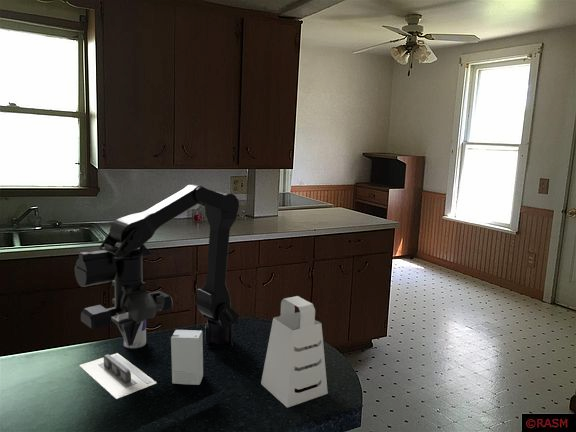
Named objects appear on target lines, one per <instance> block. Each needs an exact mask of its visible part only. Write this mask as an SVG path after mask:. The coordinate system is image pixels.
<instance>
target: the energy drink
mask: <svg viewBox="0 0 576 432" xmlns="http://www.w3.org/2000/svg"><path fill="white" fill-rule="evenodd" d="M146 344H147V319H146V320H144V321H142V323H141V324H140V326H139V329H138V331H137V334H136V337H135V339H134V342H133V345H132V346H128V345H127V344H126V342H125V340H124V339H123V346H124V347H125V348H127V349H138V348H142V347H144V346H145V345H146Z"/></svg>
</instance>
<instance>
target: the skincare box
mask: <svg viewBox="0 0 576 432" xmlns="http://www.w3.org/2000/svg"><path fill="white" fill-rule="evenodd" d="M203 334H204V333H203V330H194V329H193V330H192V329H191V330H190V329H175V330H174V332H173V334H172V335H171V337H170V346H171V349H170V352H171V353H170V355H171V383H172V384H174V385H175V384H177V385H195V386H196V385H197V386H199V385H201V382H202V380H203V377H204V354H203V353H204V349H203V344H204V343H203V338H204V337H203Z"/></svg>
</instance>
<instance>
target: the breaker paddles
mask: <svg viewBox="0 0 576 432" xmlns="http://www.w3.org/2000/svg"><path fill="white" fill-rule="evenodd" d="M110 355H111V354H109V353H107V354H104V366H105V367H106V368H107V369H111V368H112V373H113V374H115V375H116V376H119V375H121V380H122V381H123V382H124V383H125V384H126V383H129V382H131V373H130V371H129V370H128V369H127V368H125V367H124V366H123V365H122V364H120V363H119V362H118V361H116V360H115V359H114V358H113V357H111V356H110Z"/></svg>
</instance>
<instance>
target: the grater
mask: <svg viewBox="0 0 576 432" xmlns="http://www.w3.org/2000/svg"><path fill="white" fill-rule="evenodd" d="M295 306H296V307H297V308H298V312H295V311H296V310H295V309H296V307H295ZM314 306H315V305H314V304H313V303H312V302H310V301H308V300H306V299H304V298H302V297H301V296H299V295H296V296H292V297H290V296H289V297H286V298H285V297H284V298H283V299H282V300H281V302H280V315H279V316H275V317H272V318H273V319H272V323H271V329H270V334H269V339H268V344H267V348H266V349H267V350H266V354H265V360H264V365H263V371H262V376H261V381H260V384H261V386H263V387H264V388H265V389H266V390H267V391H268V392H269V393H270V394H271V395H273V396H274V397H275V398H276V399H277V400H278V401H279V402H280V403H281V404H283V405H284V406H285V408H290V407H293V406H297V405H299V404H301V403H305V402H308V401H310V400H313V399H316V398H318V397H319V398H320V397H323V396H325V395H327V394H329V392H328V383H327V371H326V361H325V349H324V337H323V335H324V334H323V328H322V326H323V325H322V322H320V321H318V320H316V318H315V317H316V308H315V307H314ZM315 345H316V346H315ZM310 347H311V348H310ZM314 385H316V387H315V386H314ZM312 386H314V387H313V388H310V389H307V390H304V391H301V392H300V391H299V390H302V389H304V388H308V387H312ZM295 390H298V391H299V392H296V391H295Z"/></svg>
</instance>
